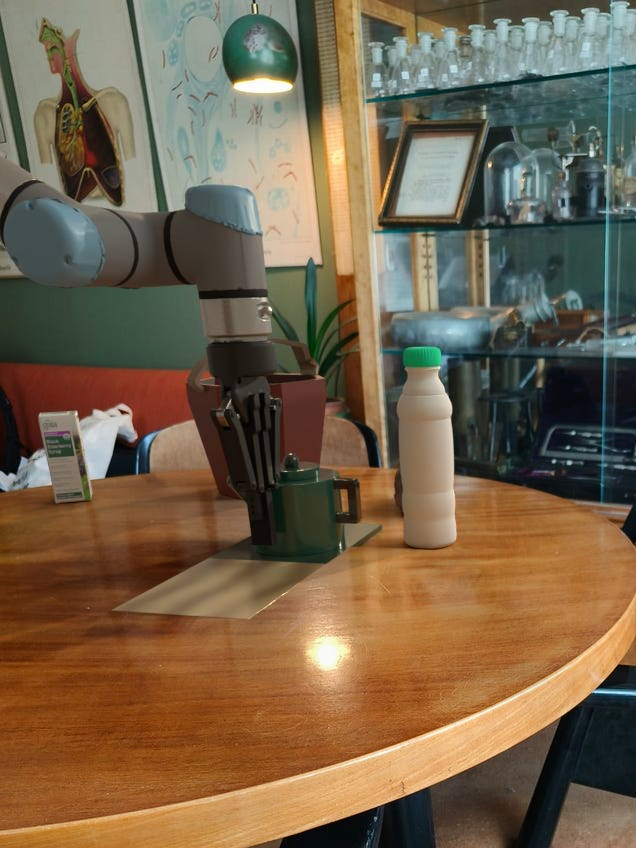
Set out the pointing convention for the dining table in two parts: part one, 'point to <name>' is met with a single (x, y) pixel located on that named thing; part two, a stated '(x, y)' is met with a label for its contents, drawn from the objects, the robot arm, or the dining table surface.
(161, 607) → the board
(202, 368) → the bucket
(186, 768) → the dining table surface
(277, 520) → the kettle
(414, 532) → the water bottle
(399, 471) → the perforated stone tool
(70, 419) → the syrup box
